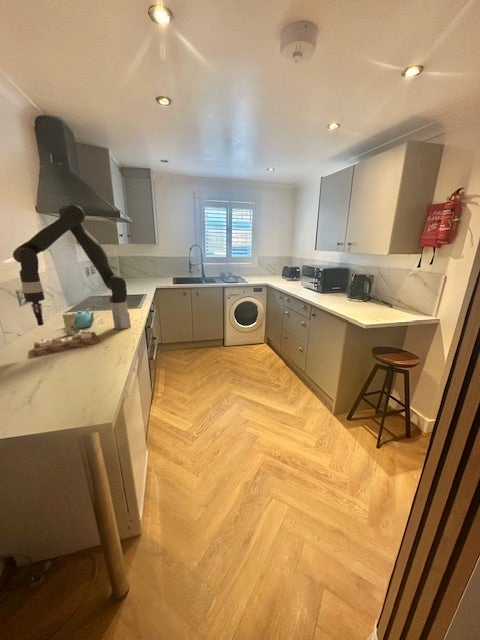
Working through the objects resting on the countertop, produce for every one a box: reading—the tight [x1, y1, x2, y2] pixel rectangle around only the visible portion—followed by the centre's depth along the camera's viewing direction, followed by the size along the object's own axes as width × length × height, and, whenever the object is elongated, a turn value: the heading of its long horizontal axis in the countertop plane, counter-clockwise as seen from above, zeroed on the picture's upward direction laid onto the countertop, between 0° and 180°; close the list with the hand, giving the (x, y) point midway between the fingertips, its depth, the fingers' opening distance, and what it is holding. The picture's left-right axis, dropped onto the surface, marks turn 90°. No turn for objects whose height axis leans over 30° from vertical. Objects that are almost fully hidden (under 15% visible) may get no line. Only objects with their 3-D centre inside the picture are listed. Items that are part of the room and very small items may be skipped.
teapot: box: [63, 307, 95, 330], centre depth 166 cm, size 15×15×10 cm
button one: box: [61, 336, 73, 343], centre depth 136 cm, size 5×5×4 cm
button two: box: [38, 337, 53, 347], centre depth 130 cm, size 5×5×4 cm
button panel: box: [33, 331, 100, 357], centre depth 136 cm, size 28×12×3 cm, turn 127°
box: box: [62, 312, 80, 336], centre depth 151 cm, size 5×4×13 cm
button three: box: [79, 330, 92, 339], centre depth 141 cm, size 5×5×4 cm
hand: (40, 324), depth 127 cm, fingers closed
